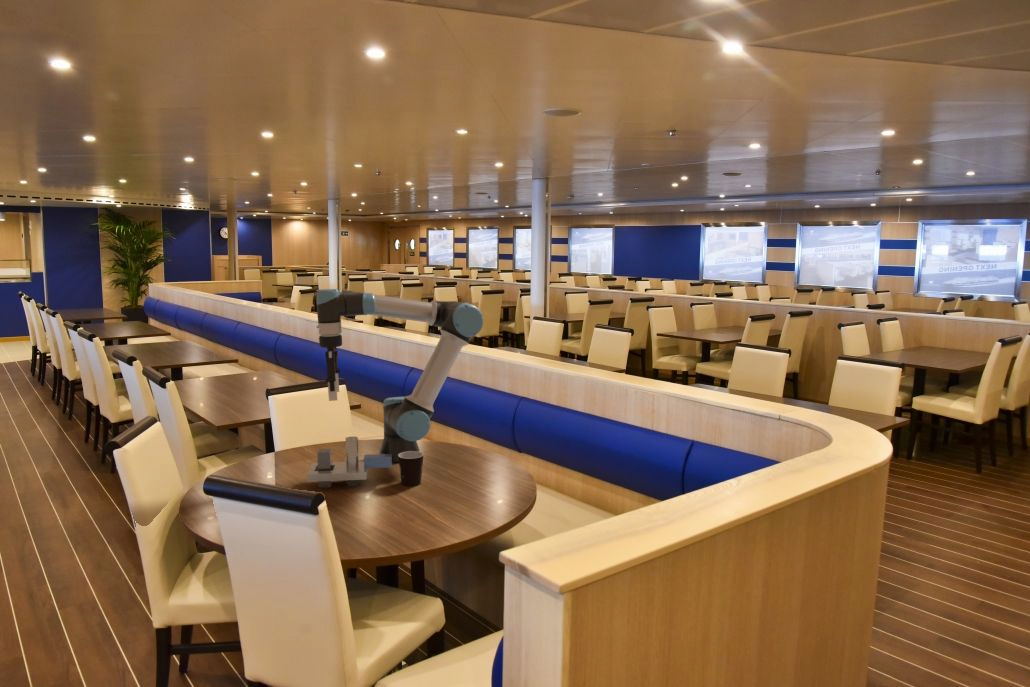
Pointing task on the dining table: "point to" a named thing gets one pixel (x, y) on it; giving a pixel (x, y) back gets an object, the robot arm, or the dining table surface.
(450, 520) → the dining table surface
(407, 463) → the coffee mug
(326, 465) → the steel pin
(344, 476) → the grey fixture base
